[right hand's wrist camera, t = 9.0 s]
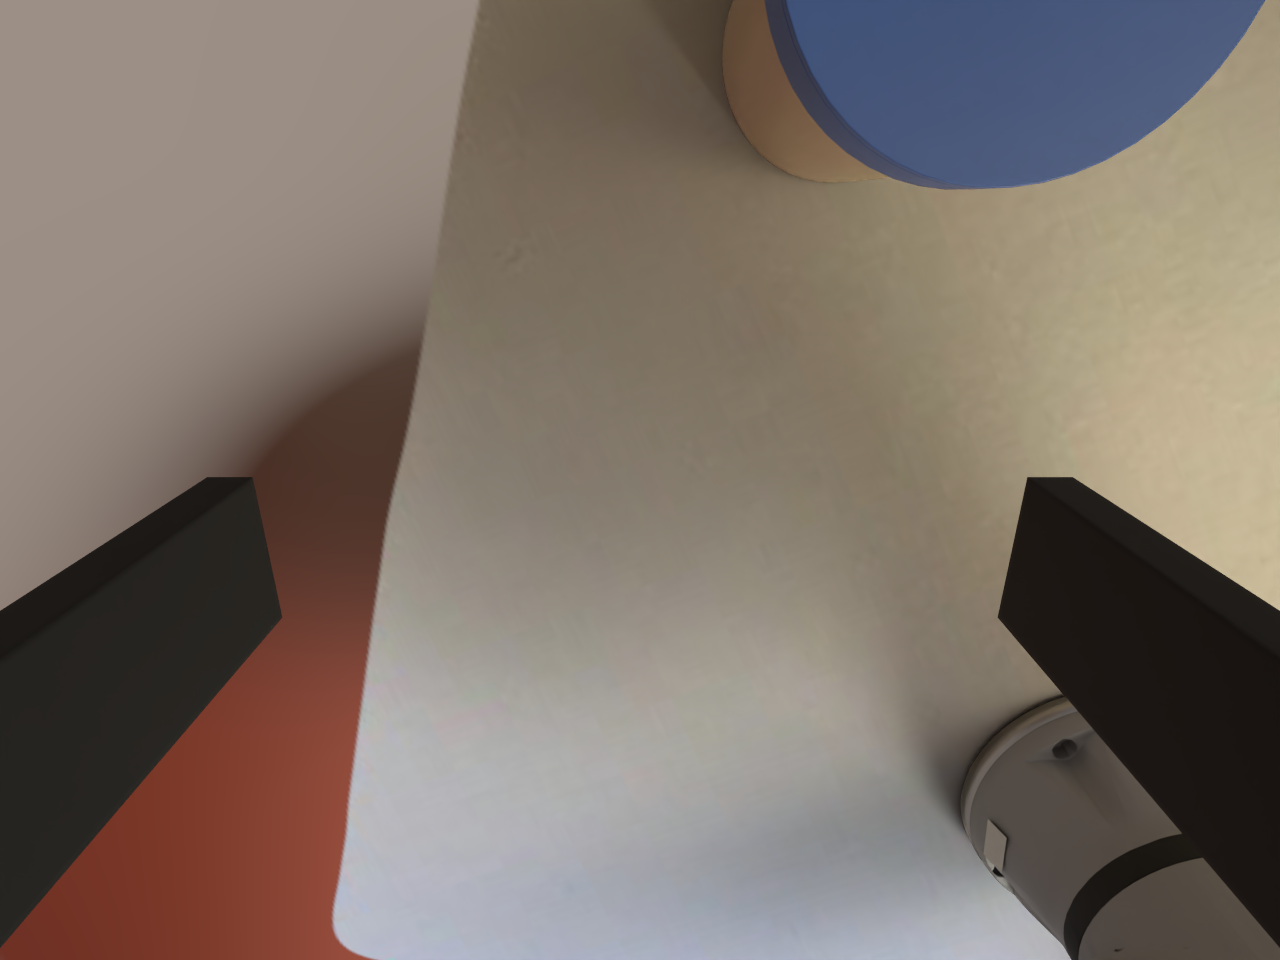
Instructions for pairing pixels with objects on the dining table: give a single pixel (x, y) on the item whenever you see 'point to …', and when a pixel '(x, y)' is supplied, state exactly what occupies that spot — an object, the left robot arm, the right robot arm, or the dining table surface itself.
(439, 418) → the dining table surface
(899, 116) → the lid
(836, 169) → the jar
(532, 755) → the dining table surface
